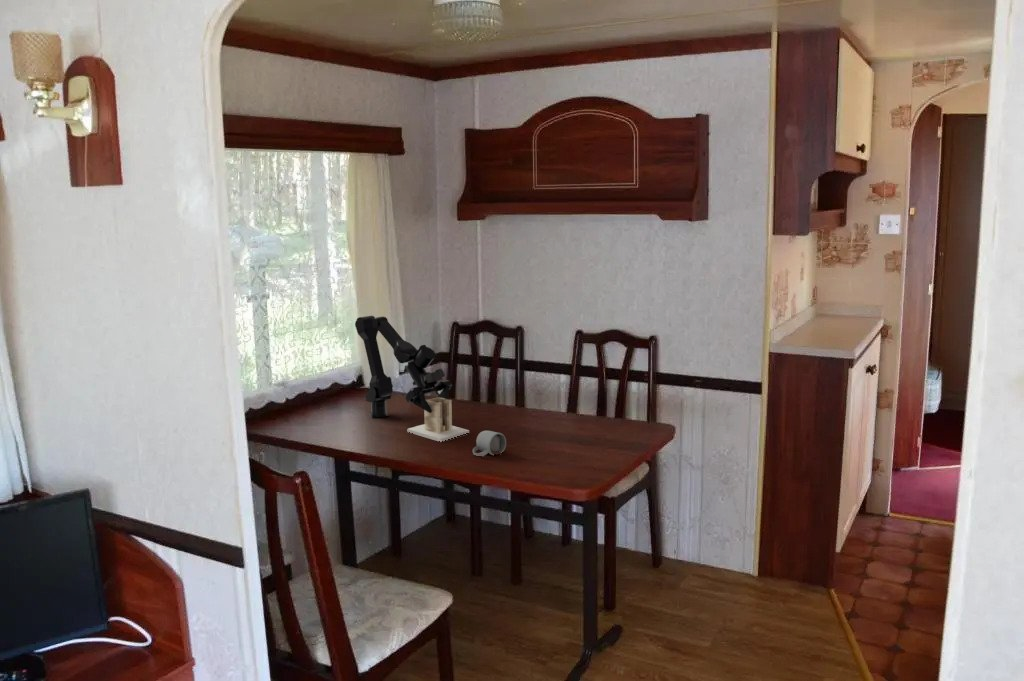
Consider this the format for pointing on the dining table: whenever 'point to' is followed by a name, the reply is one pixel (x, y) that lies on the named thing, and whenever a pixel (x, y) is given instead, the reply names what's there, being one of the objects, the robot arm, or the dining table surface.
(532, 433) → the dining table surface
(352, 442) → the dining table surface
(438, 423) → the beech collar
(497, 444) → the ceramic mug
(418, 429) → the post plate
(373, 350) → the robot arm
